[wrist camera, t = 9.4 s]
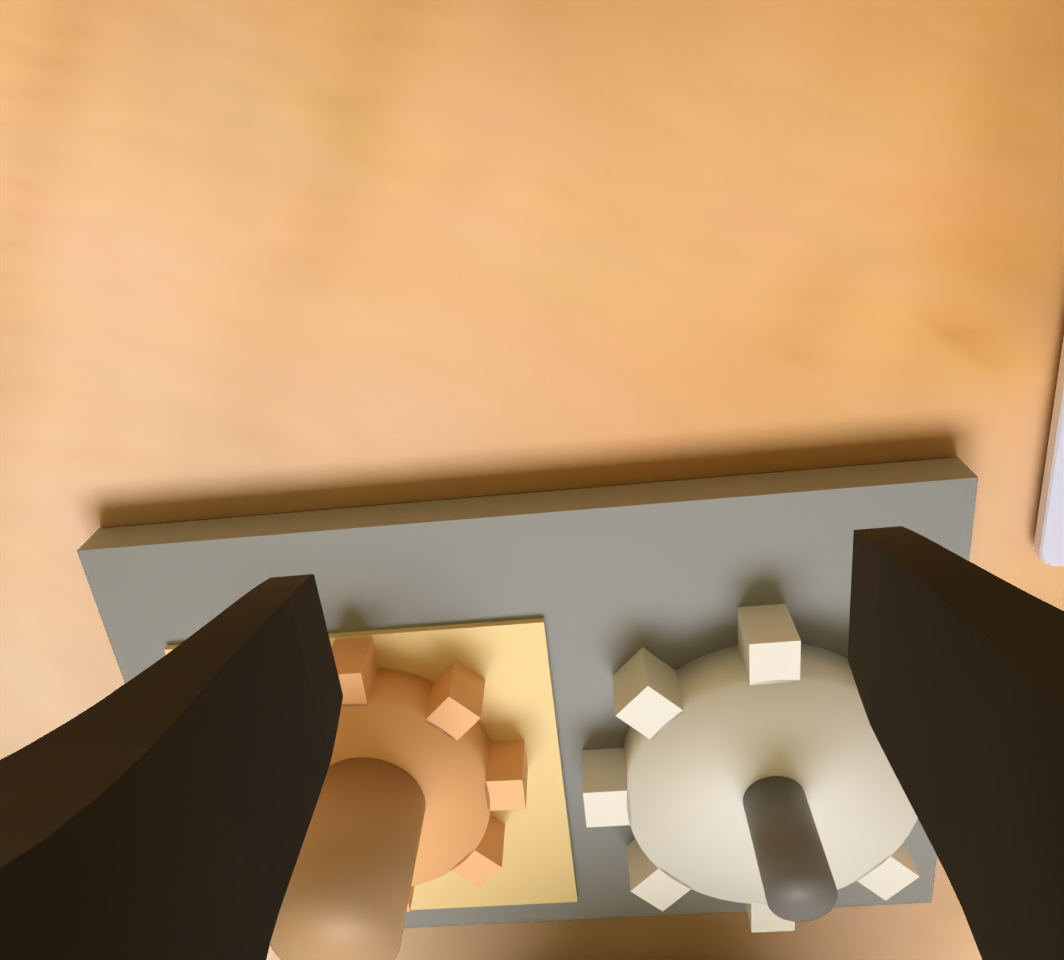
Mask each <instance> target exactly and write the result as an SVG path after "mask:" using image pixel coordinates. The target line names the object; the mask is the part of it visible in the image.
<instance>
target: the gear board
mask: <svg viewBox="0 0 1064 960" xmlns="http://www.w3.org/2000/svg"><path fill="white" fill-rule="evenodd" d="M977 482H978V477H977V476H976V475H975V474H974V473H973V472H972V471H971V470H970V469H969V468H968V467H967V466H966V465H965V464H964V463H963V462H962V461H961V460H960V459H959V458H958V457H953V458H941V459H929V460H917V461H905V462H893V463H881V464H869V465H857V466H844V467H832V468H820V469H808V470H796V471H784V472H772V473H760V474H748V475H736V476H724V477H712V478H700V479H688V480H676V481H664V482H652V483H640V484H628V485H616V486H604V487H592V488H580V489H568V490H556V491H544V492H532V493H520V494H508V495H496V496H484V497H472V498H460V499H448V500H436V501H424V502H412V503H400V504H388V505H376V506H364V507H352V508H340V509H328V510H315V511H303V512H291V513H279V514H267V515H255V516H243V517H231V518H219V519H207V520H195V521H183V522H171V523H159V524H147V525H135V526H123V527H111V528H99V529H98V530H97V531H96V532H95V533H94V534H93V535H92V536H91V537H90V538H89V539H88V540H87V541H86V542H85V543H84V544H83V545H82V546H81V547H80V548H79V549H78V550H77V552H78V555H79V558H80V561H81V563H82V566H83V569H84V572H85V574H86V577H87V580H88V583H89V585H90V588H91V591H92V594H93V596H94V599H95V602H96V605H97V607H98V610H99V613H100V616H101V618H102V621H103V624H104V627H105V630H106V632H107V635H108V638H109V641H110V643H111V646H112V649H113V652H114V654H115V657H116V660H117V663H118V665H119V668H120V671H121V674H122V676H123V679H124V682H125V684H126V683H127V682H128V681H130V680H131V679H133V678H134V677H135V676H137V675H138V674H140V673H141V672H143V671H144V670H145V669H147V668H148V667H150V666H151V665H152V664H154V663H155V662H157V661H158V660H160V659H161V658H162V657H164V656H165V655H166V654H168V653H169V652H170V651H172V650H173V649H174V648H176V647H177V646H178V645H180V644H181V643H182V642H184V641H185V640H186V639H187V638H189V637H190V636H191V635H193V634H194V633H195V632H197V631H198V630H199V629H201V628H202V627H203V626H204V625H206V624H207V623H208V622H210V621H211V620H212V619H214V618H215V617H216V616H217V615H219V614H220V613H221V612H223V611H224V610H225V609H226V608H228V607H229V606H230V605H232V604H233V603H234V602H236V601H237V600H238V599H240V598H241V597H242V596H244V595H245V594H246V593H248V592H249V591H250V590H252V589H253V588H255V587H256V586H258V585H259V584H261V583H262V582H264V581H266V580H267V579H269V578H271V577H283V576H295V575H307V574H314V576H315V581H316V585H317V589H318V593H319V597H320V601H321V605H322V610H323V614H324V618H325V622H326V626H327V630H328V635H329V639H330V643H331V647H332V645H333V642H334V640H335V639H352V638H370V637H373V641H374V646H375V652H376V657H377V662H378V667H381V668H390V669H395V670H400V671H405V672H408V673H411V674H415V675H418V676H421V677H423V678H425V679H428V680H430V681H432V682H434V681H435V680H436V679H437V678H438V677H439V676H440V675H441V674H442V673H443V672H444V671H445V670H446V669H447V668H448V667H449V666H450V665H451V664H452V663H453V662H454V661H455V660H456V661H458V662H459V663H461V664H462V665H464V666H465V667H467V668H468V669H470V670H471V671H472V672H474V673H475V674H477V675H478V676H480V677H481V678H483V679H484V680H485V688H484V696H483V704H482V712H481V718H480V719H479V721H480V722H481V724H482V726H483V727H484V729H485V731H486V733H487V735H488V738H489V740H490V742H495V741H515V740H525V748H526V756H527V765H528V777H527V797H526V809H519V810H497V811H490V816H492V817H493V818H495V819H497V820H498V821H500V822H501V823H503V824H504V825H505V834H504V847H503V861H502V868H501V869H500V870H498V871H497V872H496V873H495V874H494V875H493V876H491V877H490V878H489V879H488V880H487V881H486V882H485V883H483V884H482V885H481V886H480V887H478V886H476V885H475V884H473V883H472V882H470V881H468V880H467V879H465V878H463V877H462V876H460V875H459V874H457V873H455V872H454V871H450V872H448V873H447V874H445V875H443V876H441V877H439V878H436V879H434V880H432V881H429V882H426V883H422V884H419V885H415V887H414V893H413V898H412V904H411V909H410V912H406V917H405V922H404V928H413V927H434V926H455V925H475V924H496V923H517V922H538V921H558V920H579V919H600V918H620V917H641V916H662V915H682V914H703V913H724V912H745V911H747V914H748V919H749V923H750V928H751V933H755V932H777V931H795V922H805V921H811V920H814V919H817V918H820V917H822V916H824V915H825V914H827V913H828V912H829V911H830V910H831V909H832V908H833V907H848V906H869V905H889V904H910V903H931V902H932V893H933V884H934V874H935V865H936V856H937V854H936V852H935V850H934V848H933V846H932V845H931V843H930V841H929V839H928V837H927V835H926V833H925V831H924V829H923V827H922V825H921V823H920V821H919V819H918V818H917V816H916V814H915V812H914V810H913V808H912V806H911V804H910V802H909V800H908V798H907V796H906V794H905V792H904V791H903V789H902V787H901V785H900V783H899V781H898V779H897V777H896V775H895V773H894V771H893V769H892V767H891V765H890V763H889V761H888V759H887V757H886V755H885V753H884V751H883V750H882V748H881V746H880V744H879V742H878V740H877V738H876V736H875V734H874V732H873V729H872V727H871V725H870V723H869V720H868V718H867V715H866V712H865V709H864V707H863V704H862V701H861V698H860V696H859V693H858V690H857V687H856V684H855V681H854V677H853V674H852V671H851V668H850V665H849V662H848V638H849V617H850V596H851V575H852V555H853V534H854V530H859V529H871V528H883V527H896V526H903V527H905V528H907V529H910V530H912V531H914V532H916V533H918V534H920V535H922V536H924V537H926V538H928V539H930V540H931V541H933V542H935V543H937V544H939V545H941V546H943V547H944V548H946V549H948V550H950V551H952V552H953V553H955V554H957V555H959V556H961V557H962V558H964V559H966V560H968V561H969V555H970V546H971V537H972V527H973V518H974V509H975V500H976V491H977Z"/></svg>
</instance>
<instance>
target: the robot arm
mask: <svg viewBox="0 0 1064 960" xmlns="http://www.w3.org/2000/svg"><path fill="white" fill-rule="evenodd" d="M1034 551H1035V553H1036V554H1037V556H1038V557H1039V558H1040V559H1041V560H1042V561H1043V562H1044V563H1046V564H1048V565H1051V566H1064V337H1063V344H1062V351H1061V358H1060V365H1059V372H1058V379H1057V386H1056V393H1055V400H1054V407H1053V414H1052V421H1051V428H1050V435H1049V442H1048V449H1047V456H1046V463H1045V470H1044V477H1043V484H1042V491H1041V498H1040V505H1039V512H1038V519H1037V526H1036V533H1035V540H1034ZM848 662H849V665H850V668H851V671H852V674H853V677H854V681H855V684H856V687H857V690H858V693H859V696H860V698H861V701H862V704H863V707H864V709H865V712H866V715H867V718H868V720H869V723H870V725H871V727H872V729H873V732H874V734H875V736H876V738H877V740H878V742H879V744H880V746H881V748H882V750H883V751H884V753H885V755H886V757H887V759H888V761H889V763H890V765H891V767H892V769H893V771H894V773H895V775H896V777H897V779H898V781H899V783H900V785H901V787H902V789H903V791H904V792H905V794H906V796H907V798H908V800H909V802H910V804H911V806H912V808H913V810H914V812H915V814H916V816H917V818H918V819H919V821H920V823H921V825H922V827H923V829H924V831H925V833H926V835H927V837H928V839H929V841H930V843H931V845H932V846H933V848H934V850H935V852H936V854H937V856H938V858H939V860H940V862H941V864H942V866H943V868H944V870H945V872H946V874H947V876H948V878H949V880H950V882H951V885H952V887H953V889H954V891H955V893H956V895H957V898H958V900H959V902H960V904H961V906H962V909H963V911H964V914H965V916H966V919H967V921H968V924H969V926H970V929H971V932H972V934H973V937H974V939H975V942H976V944H977V947H978V949H979V952H980V955H981V957H982V960H1064V611H1062V610H1060V609H1058V608H1056V607H1054V606H1052V605H1050V604H1048V603H1046V602H1044V601H1042V600H1040V599H1038V598H1036V597H1034V596H1032V595H1030V594H1029V593H1027V592H1025V591H1023V590H1021V589H1019V588H1017V587H1015V586H1013V585H1012V584H1010V583H1008V582H1006V581H1004V580H1002V579H1000V578H999V577H997V576H995V575H993V574H991V573H989V572H988V571H986V570H984V569H982V568H980V567H978V566H977V565H975V564H973V563H971V562H970V561H968V560H966V559H964V558H962V557H961V556H959V555H957V554H955V553H953V552H952V551H950V550H948V549H946V548H944V547H943V546H941V545H939V544H937V543H935V542H933V541H931V540H930V539H928V538H926V537H924V536H922V535H920V534H918V533H916V532H914V531H912V530H910V529H907V528H905V527H903V526H896V527H883V528H871V529H859V530H854V534H853V555H852V575H851V596H850V617H849V638H848ZM342 700H343V693H342V689H341V684H340V680H339V676H338V672H337V668H336V664H335V659H334V655H333V651H332V647H331V643H330V639H329V635H328V630H327V626H326V622H325V618H324V614H323V610H322V605H321V601H320V597H319V593H318V589H317V585H316V581H315V576H314V574H307V575H295V576H283V577H271V578H269V579H267V580H266V581H264V582H262V583H261V584H259V585H258V586H256V587H255V588H253V589H252V590H250V591H249V592H248V593H246V594H245V595H244V596H242V597H241V598H240V599H238V600H237V601H236V602H234V603H233V604H232V605H230V606H229V607H228V608H226V609H225V610H224V611H223V612H221V613H220V614H219V615H217V616H216V617H215V618H214V619H212V620H211V621H210V622H208V623H207V624H206V625H204V626H203V627H202V628H201V629H199V630H198V631H197V632H195V633H194V634H193V635H191V636H190V637H189V638H187V639H186V640H185V641H184V642H182V643H181V644H180V645H178V646H177V647H176V648H174V649H173V650H172V651H170V652H169V653H168V654H166V655H165V656H164V657H162V658H161V659H160V660H158V661H157V662H155V663H154V664H152V665H151V666H150V667H148V668H147V669H145V670H144V671H143V672H141V673H140V674H138V675H137V676H135V677H134V678H133V679H131V680H130V681H128V682H127V683H126V684H124V685H123V686H121V687H120V688H118V689H117V690H116V691H114V692H113V693H111V694H110V695H108V696H107V697H106V698H104V699H103V700H101V701H100V702H98V703H97V704H95V705H94V706H92V707H90V708H89V709H87V710H86V711H84V712H83V713H81V714H79V715H78V716H76V717H75V718H73V719H71V720H70V721H68V722H67V723H65V724H63V725H62V726H60V727H58V728H56V729H55V730H53V731H51V732H50V733H48V734H46V735H44V736H43V737H41V738H39V739H38V740H36V741H34V742H33V743H31V744H29V745H27V746H26V747H24V748H22V749H20V750H18V751H17V752H15V753H13V754H11V755H9V756H7V757H5V758H3V759H1V760H0V960H266V958H267V953H268V949H269V945H270V941H271V938H272V935H273V931H274V928H275V925H276V921H277V918H278V915H279V911H280V908H281V905H282V902H283V899H284V896H285V894H286V891H287V888H288V885H289V882H290V879H291V876H292V873H293V871H294V868H295V865H296V862H297V859H298V856H299V853H300V850H301V848H302V845H303V842H304V839H305V836H306V833H307V830H308V827H309V825H310V822H311V819H312V816H313V813H314V810H315V807H316V804H317V801H318V798H319V795H320V792H321V789H322V786H323V783H324V781H325V778H326V774H327V771H328V768H329V765H330V762H331V758H332V753H333V748H334V744H335V739H336V734H337V729H338V723H339V717H340V711H341V706H342Z"/></svg>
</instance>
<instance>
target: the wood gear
mask: <svg viewBox="0 0 1064 960" xmlns="http://www.w3.org/2000/svg"><path fill="white" fill-rule="evenodd" d="M332 651H333V655H334V659H335V664H336V668H337V672H338V676H339V680H340V684H341V689H342V693H343V700H342V706H341V711H340V717H339V723H338V729H337V734H336V739H335V744H334V748H333V753H332V758H331V762H330V765H329V768H328V771H327V774H326V778H325V781H324V783H323V786H322V789H321V792H320V795H319V798H318V801H317V804H316V807H315V810H314V813H313V816H312V819H311V822H310V825H309V827H308V830H307V833H306V836H305V839H304V842H303V845H302V848H301V850H300V853H299V856H298V859H297V862H296V865H295V868H294V871H293V873H292V876H291V879H290V882H289V885H288V888H287V891H286V894H285V896H284V899H283V902H282V905H281V908H280V911H279V915H278V918H277V921H276V925H275V928H274V931H273V935H272V938H271V941H270V946H271V948H272V950H273V951H274V952H275V954H276V955H277V956H278V957H279V958H280V959H281V960H394V959H395V958H396V956H397V954H398V952H399V948H400V944H401V939H402V933H403V928H404V922H405V917H406V912H410V909H411V904H412V898H413V893H414V887H415V885H419V884H422V883H426V882H429V881H432V880H434V879H436V878H439V877H441V876H443V875H445V874H447V873H448V872H450V871H454V872H455V873H457V874H459V875H460V876H462V877H463V878H465V879H467V880H468V881H470V882H472V883H473V884H475V885H476V886H478V887H480V886H481V885H482V884H483V883H485V882H486V881H487V880H488V879H489V878H490V877H491V876H493V875H494V874H495V873H496V872H497V871H498V870H500V869H501V868H502V861H503V847H504V834H505V825H504V824H503V823H501V822H500V821H498V820H497V819H495V818H493V817H492V816H490V811H497V810H519V809H526V797H527V777H528V765H527V756H526V748H525V740H515V741H495V742H490V740H489V738H488V735H487V733H486V731H485V729H484V727H483V726H482V724H481V722H480V721H479V719H480V718H481V712H482V704H483V696H484V688H485V680H484V679H483V678H481V677H480V676H478V675H477V674H475V673H474V672H472V671H471V670H470V669H468V668H467V667H465V666H464V665H462V664H461V663H459V662H458V661H456V660H455V661H454V662H453V663H452V664H451V665H450V666H449V667H448V668H447V669H446V670H445V671H444V672H443V673H442V674H441V675H440V676H439V677H438V678H437V679H436V680H435V681H434V682H432V681H430V680H428V679H425V678H423V677H421V676H418V675H415V674H411V673H408V672H405V671H400V670H395V669H390V668H381V667H378V662H377V657H376V652H375V646H374V641H373V637H370V638H352V639H335V640H334V642H333V645H332Z"/></svg>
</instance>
